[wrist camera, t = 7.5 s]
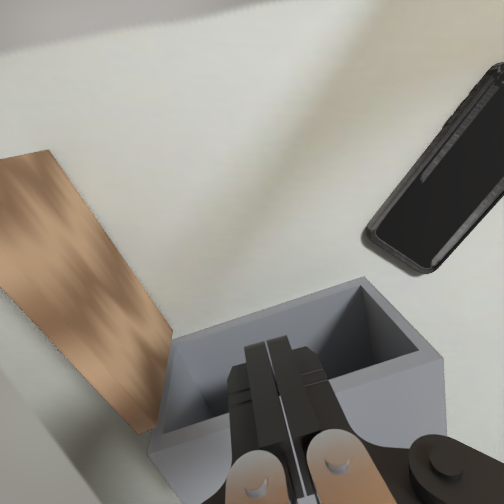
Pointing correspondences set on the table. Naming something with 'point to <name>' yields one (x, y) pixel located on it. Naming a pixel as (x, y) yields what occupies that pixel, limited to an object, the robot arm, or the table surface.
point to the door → (80, 288)
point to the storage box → (299, 335)
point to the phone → (448, 182)
